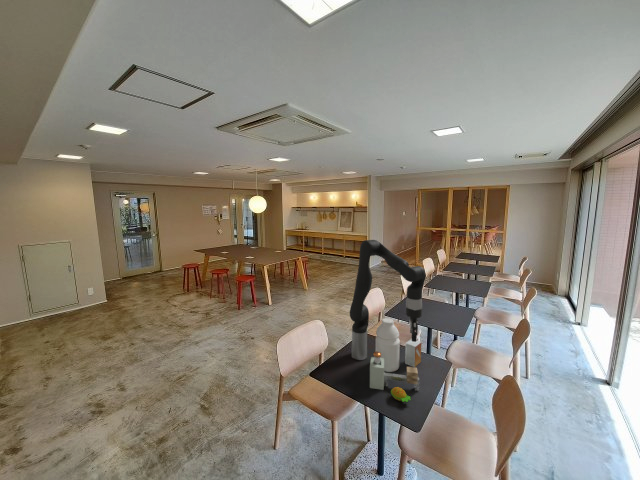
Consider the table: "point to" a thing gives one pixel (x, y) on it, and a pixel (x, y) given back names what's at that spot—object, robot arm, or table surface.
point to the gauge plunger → (377, 357)
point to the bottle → (388, 344)
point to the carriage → (412, 375)
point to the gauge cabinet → (377, 374)
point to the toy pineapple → (400, 394)
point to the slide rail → (397, 379)
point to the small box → (413, 353)
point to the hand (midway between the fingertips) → (413, 337)
